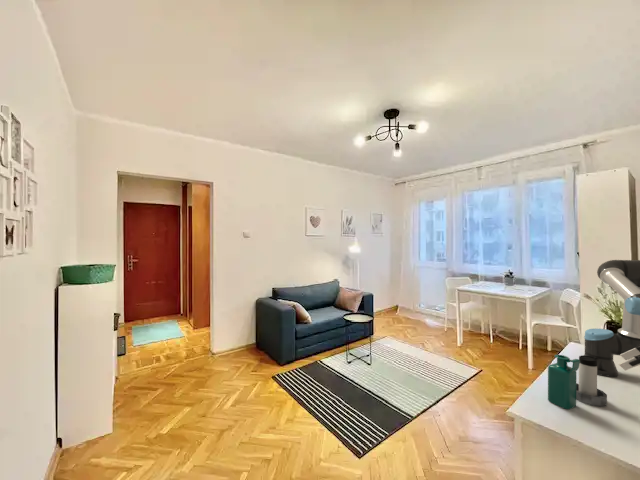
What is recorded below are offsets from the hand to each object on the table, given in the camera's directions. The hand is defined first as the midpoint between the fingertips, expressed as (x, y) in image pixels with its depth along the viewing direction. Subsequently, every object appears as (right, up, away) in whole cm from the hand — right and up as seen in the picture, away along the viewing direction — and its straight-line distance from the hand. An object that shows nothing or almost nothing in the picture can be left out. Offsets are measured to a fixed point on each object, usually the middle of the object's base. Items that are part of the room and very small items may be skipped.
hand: (622, 362), depth 124 cm
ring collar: (-8, -21, +8) cm, 24 cm away
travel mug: (-8, -21, +8) cm, 24 cm away
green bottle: (-23, -21, +4) cm, 32 cm away
